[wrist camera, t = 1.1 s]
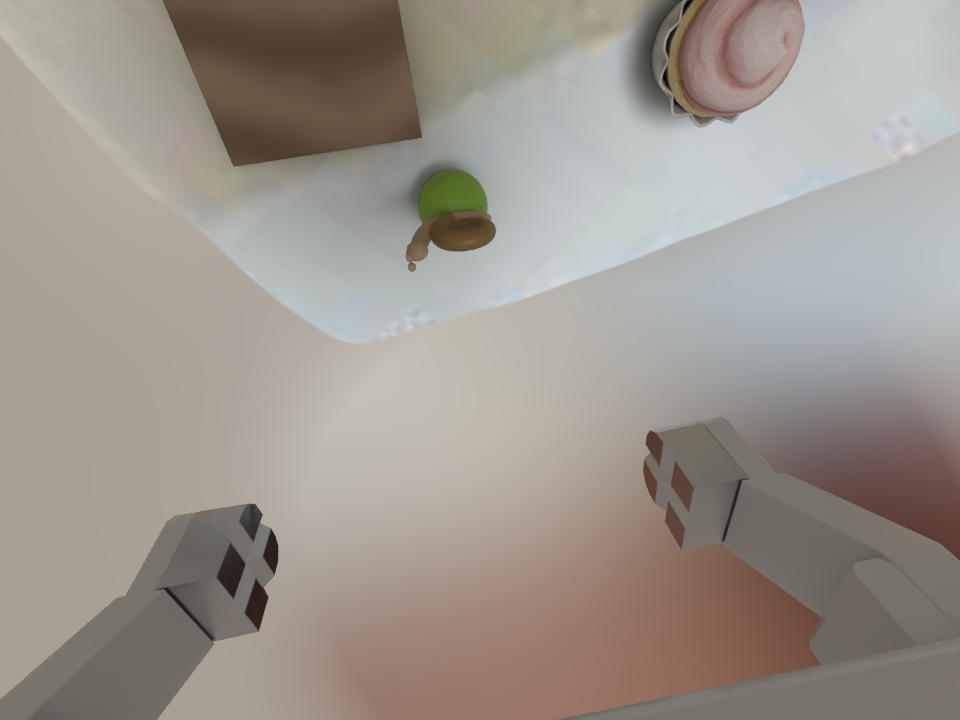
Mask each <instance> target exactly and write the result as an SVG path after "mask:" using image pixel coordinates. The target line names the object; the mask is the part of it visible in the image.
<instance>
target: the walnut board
mask: <svg viewBox="0 0 960 720" xmlns="http://www.w3.org/2000/svg"><path fill="white" fill-rule="evenodd" d="M163 2H164V4H165V6H166V9H167V11H168V13H169V16H170V18H171V20H172V23H173V25H174V28H175V30H176V32H177V35H178V37H179V39H180V42H181V44H182V46H183V49H184V51H185V53H186V56H187V58H188V60H189V63H190V65H191V67H192V70H193V72H194V74H195V77H196V79H197V81H198V84H199V86H200V89H201V91H202V93H203V96H204V98H205V100H206V103H207V105H208V107H209V110H210V112H211V114H212V117H213V119H214V121H215V124H216V126H217V128H218V131H219V133H220V135H221V138H222V140H223V142H224V145H225V147H226V150H227V152H228V154H229V157H230V159H231V161H232V164H233V166H234V167H235V166H241V165H247V164H254V163H260V162H267V161H273V160H280V159H286V158H293V157H299V156H306V155H312V154H319V153H325V152H331V151H338V150H344V149H351V148H357V147H364V146H370V145H377V144H383V143H390V142H396V141H403V140H409V139H416V138H422V136H421V130H420V125H419V119H418V113H417V108H416V102H415V97H414V91H413V85H412V80H411V74H410V69H409V63H408V57H407V52H406V46H405V40H404V35H403V29H402V24H401V18H400V12H399V7H398V1H397V0H163Z"/></svg>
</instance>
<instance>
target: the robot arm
mask: <svg viewBox="0 0 960 720" xmlns="http://www.w3.org/2000/svg"><path fill="white" fill-rule="evenodd" d="M646 446H647V447H648V449H649V450H650V454H649V455H648V456H647V457H646V458H645V459H644V468H643V472H644V478H645V482H646V486H647V488H648V491H649V494H650V495H651V497H652V499H653V501H654V503H655V504H657V505H658V506H660V507H662V508H663V509H665V510H666V511H667V512H666V519H665V522H666V524H667V526H668V527H669V529H670V531H671V533H672V534H673V536H674V538H675V540H676V542H677V543H678V545H679V547H680V548H681V550H685V549H690V548H697V547H703V546H709V545H714V544H721V543H724V546H725V547H726V548H728V549H729V550H730V551H732V552H733V553H735V554H736V555H737V556H739V557H740V558H741V559H743V560H744V561H745V562H747V563H748V564H750V565H751V566H752V567H754V568H755V569H756V570H758V571H759V572H760V573H762V574H763V575H764V576H766V577H767V578H769V579H770V580H771V581H773V582H774V583H775V584H777V585H778V586H780V587H781V588H782V589H784V590H785V591H786V592H788V593H789V594H790V595H792V596H793V597H794V598H796V599H797V600H799V601H800V602H801V603H803V604H804V605H805V606H807V607H808V608H809V609H811V610H812V611H813V612H815V613H816V614H818V615H819V616H820V617H822V620H821V621H820V623H819V625H818V627H817V628H816V630H815V632H814V634H813V636H812V637H811V641H810V645H809V647H810V648H811V650H812V651H813V652H814V654H815V655H816V657H817V659H818V660H819V661H820V663H821V664H822V665H820V666H815V667H811V668H806V669H801V670H796V671H791V672H786V673H781V674H777V675H772V676H767V677H762V678H757V679H752V680H747V681H742V682H737V683H733V684H728V685H723V686H718V687H713V688H708V689H704V690H698V691H694V692H689V693H684V694H679V695H674V696H669V697H664V698H660V699H655V700H650V701H645V702H640V703H635V704H630V705H625V706H620V707H616V708H611V709H606V710H601V711H596V712H591V713H586V714H581V715H577V716H572V717H567V718H562V719H557V720H960V561H959V560H958V559H957V558H956V557H955V556H953V555H952V554H951V553H950V552H949V551H948V550H946V548H944V547H943V546H942V545H941V544H940V543H937V542H935V541H933V540H931V539H929V538H926V537H924V536H922V535H920V534H918V533H915V532H913V531H911V530H909V529H906V528H905V527H902V526H900V525H898V524H896V523H894V522H891V521H889V520H887V519H885V518H882V517H880V516H878V515H876V514H874V513H872V512H869V511H867V510H865V509H863V508H861V507H859V506H856V505H854V504H852V503H850V502H848V501H845V500H843V499H841V498H839V497H837V496H834V495H832V494H830V493H828V492H826V491H823V490H821V489H819V488H817V487H815V486H813V485H810V484H808V483H806V482H804V481H802V480H799V479H797V478H795V477H793V476H790V475H788V474H786V473H780V474H777V473H776V472H775V471H774V470H773V469H772V468H771V467H770V466H769V465H768V464H767V463H766V461H764V459H763V458H762V457H761V456H760V455H759V454H758V453H757V452H756V451H755V450H754V449H753V447H751V445H750V444H749V443H748V442H747V441H746V440H745V439H744V438H743V437H742V436H741V434H740V433H739V432H738V431H737V430H736V429H735V428H734V427H733V426H732V425H731V424H730V423H729V421H728V420H726V419H724V418H722V417H718V418H713V419H707V420H702V421H697V422H691V423H686V424H681V425H676V426H671V427H666V428H660V429H655V430H650V431H649V433H648V435H647V438H646ZM261 518H262V513H261V511H260V510H259V508H258V507H257V506H256V504H244V505H238V506H231V507H225V508H219V509H213V510H206V511H200V512H196V513H190V514H183V515H177V516H174V517H173V518H171V519H170V520H169V521H168V522H166V524H165V526H164V528H163V529H162V531H161V533H160V535H159V537H158V538H157V540H156V542H155V544H154V546H153V547H152V549H151V551H150V553H149V554H148V556H147V558H146V560H145V562H144V563H143V565H142V567H141V569H140V571H139V572H138V574H137V576H136V578H135V580H134V581H133V583H132V585H131V587H130V589H129V590H128V592H127V594H126V596H123V597H119V598H116V599H115V600H114V601H113V602H111V603H110V604H109V605H108V606H107V607H106V608H105V609H103V610H102V611H101V612H100V613H99V614H98V615H97V616H95V617H94V618H93V619H92V620H91V621H90V622H89V623H87V624H86V625H85V626H84V627H83V628H82V629H81V630H79V632H77V633H76V634H75V635H74V636H73V637H71V638H70V639H69V640H68V641H67V642H66V643H64V644H63V645H62V646H61V647H60V648H59V649H58V650H56V651H55V652H54V653H53V654H52V655H51V656H50V657H48V658H47V659H46V660H45V661H44V662H43V663H42V664H40V665H39V666H38V667H37V668H36V669H35V670H34V671H32V672H31V673H30V674H29V675H28V676H27V677H25V678H24V679H23V680H22V681H21V682H20V683H19V684H17V685H16V686H15V687H14V688H13V689H12V690H11V691H9V692H8V693H7V694H6V695H5V696H4V697H3V698H1V699H0V720H157V719H158V718H159V716H160V715H161V714H162V712H163V711H164V710H165V708H166V707H167V706H168V704H169V703H170V702H171V700H172V699H173V698H174V696H175V695H176V694H177V693H178V691H179V690H180V688H181V687H182V686H183V685H184V683H185V682H186V681H187V679H188V678H189V677H190V675H191V674H192V673H193V671H194V670H195V669H196V667H197V666H198V665H199V663H200V662H201V661H202V659H203V658H204V657H205V655H206V654H207V653H208V652H209V650H210V649H211V648H212V646H213V645H214V643H213V641H217V640H222V639H227V638H231V637H236V636H240V635H245V634H249V633H254V632H258V631H259V629H260V625H261V622H262V618H263V615H264V611H265V607H266V604H267V601H268V595H267V593H266V591H265V589H264V587H265V585H266V584H267V583H268V582H269V581H270V580H271V579H272V578H273V576H274V575H275V572H276V568H277V564H278V543H277V540H276V536H275V534H274V533H273V531H272V529H271V528H269V527H267V526H265V525H263V524H261V523H260V521H261Z"/></svg>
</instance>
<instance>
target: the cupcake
mask: <svg viewBox="0 0 960 720" xmlns="http://www.w3.org/2000/svg"><path fill="white" fill-rule="evenodd" d="M804 29H805V24H804V20H803V15H802V9H801V6H800V3H799V0H682V1H680V2H679V3H678V4H677V5H676V6H675V7H674V8H673V9H672V10H671V11H670V12H669V14H668V15H667V16H666V18H665V19H664V21H663V22H662V24H661V26H660V27H659V30H658V33H657V35H656V38H655V41H654V45H653V50H652V70H653V74H654V78H655V81H656V82H657V84H658V85H659V87H660V88H661V89H662V90H663V91H664V93H665V94H666V95H667V97H668V98H669V104H670V109H671V114H672V116H674V117H682V116H689V117H690V118H691V120H692V122H693V123H694V125H696V126H697V127H699V128H700V127H705V126H707V125H709V124H710V123H712V122H713V121H715V120H716V119H718V120H720V121H723V122H725V123H733V122H734V121H735V120H736V119H737V118H738V116H739V115H740V114H741V113H743V112H745V111H747V110H749V109H751V108H754V107H756V106H758V105H759V104H761V103H762V102H763V101H764V100H765V99H767V98H768V97H769V96H770V95H772V94H773V93H774V92H775V90H776V89H777V88H778V87H779V86H780V85H781V84H782V83H783V81H784V80H785V78H786V77H787V75H788V73H789V72H790V70H791V68H792V66H793V64H794V63H795V60H796V58H797V56H798V54H799V51H800V46H801V43H802V39H803V35H804Z"/></svg>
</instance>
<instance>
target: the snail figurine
mask: <svg viewBox="0 0 960 720" xmlns="http://www.w3.org/2000/svg"><path fill="white" fill-rule="evenodd" d="M418 208H419V215H420V218H421V221H422V223H423V225H421V226H420V227H419V229H418V230H417V231H416V233H415V234H414V236H413V238H412V241H411V243H410V244H409V245H408V246H407V251H406V260H407V261H408V262H411V263H409V264H408V269H409V270H410V271H415V269H416V265H415V264H414V263H412V261H421V260H423V259H424V258H425V257H426V256H427V254H428V248H427V246H428V245H429V243H430V241H431V240H432V242H433V243H434V244H435V245H436V246H437V247H439V248H441V249H444V250H448V251H469V250H474V249H477V248H480V247H483V246H485V245H486V244H488V243H489V242H491V241H492V239H493V238H494V236H495V234H496V228H495V225H494V224H493V223H492V222H491V221H490V220H491V216H490V215H489V214H487V198H486V195H485V192H484V190H483V188H482V186H481V185H480V184H479V182H478V181H477V180H476V179H475V178H473V177H472V176H471V175H469V174H467V173H465V172H462V171H458V170H446V171H442V172H440V173H437V174H436V175H434V176H433V177H431V178H430V179H429V180H428V181H427V182H426V184H425V185H424V187H423V189H422V191H421V193H420V197H419V203H418Z"/></svg>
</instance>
